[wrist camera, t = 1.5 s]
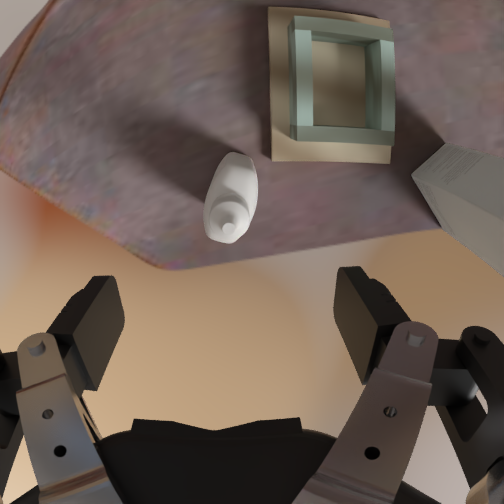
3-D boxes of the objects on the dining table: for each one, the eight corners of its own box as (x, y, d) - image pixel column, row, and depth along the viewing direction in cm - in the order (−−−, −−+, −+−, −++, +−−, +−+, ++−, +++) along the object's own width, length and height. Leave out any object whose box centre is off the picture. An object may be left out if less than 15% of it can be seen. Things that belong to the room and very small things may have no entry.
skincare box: (473, 198, 30) (567, 252, 16) (439, 232, 31) (527, 301, 18) (443, 138, 27) (552, 169, 13) (404, 173, 28) (508, 225, 15)
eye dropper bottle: (192, 188, 28) (164, 236, 17) (237, 143, 27) (237, 163, 16) (226, 220, 30) (221, 286, 19) (271, 178, 28) (294, 221, 17)
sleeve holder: (267, 10, 22) (273, -8, 18) (384, 23, 22) (406, 12, 18) (270, 159, 28) (277, 167, 23) (385, 162, 28) (407, 171, 24)
